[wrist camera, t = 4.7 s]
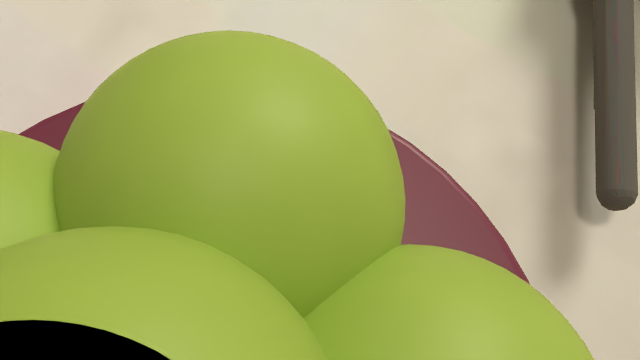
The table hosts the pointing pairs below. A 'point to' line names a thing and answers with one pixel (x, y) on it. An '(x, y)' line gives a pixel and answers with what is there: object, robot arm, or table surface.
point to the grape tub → (249, 225)
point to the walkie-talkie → (615, 103)
